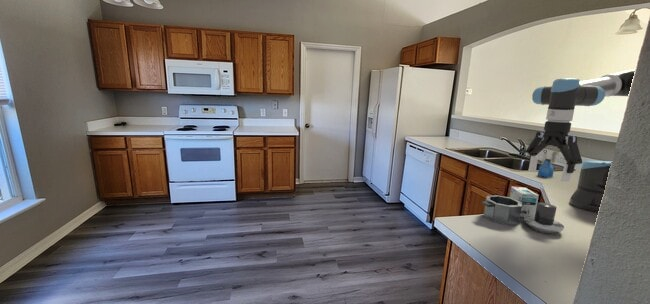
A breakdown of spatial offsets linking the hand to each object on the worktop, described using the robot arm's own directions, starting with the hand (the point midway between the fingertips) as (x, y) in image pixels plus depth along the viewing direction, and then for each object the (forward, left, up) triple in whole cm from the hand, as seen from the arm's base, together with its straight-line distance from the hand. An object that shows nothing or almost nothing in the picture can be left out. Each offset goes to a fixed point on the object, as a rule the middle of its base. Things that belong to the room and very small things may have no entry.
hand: (547, 175), depth 105 cm
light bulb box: (-6, -14, -22) cm, 27 cm away
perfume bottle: (-77, -66, -22) cm, 104 cm away
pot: (+8, -10, -22) cm, 25 cm away
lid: (-1, +1, -22) cm, 22 cm away
